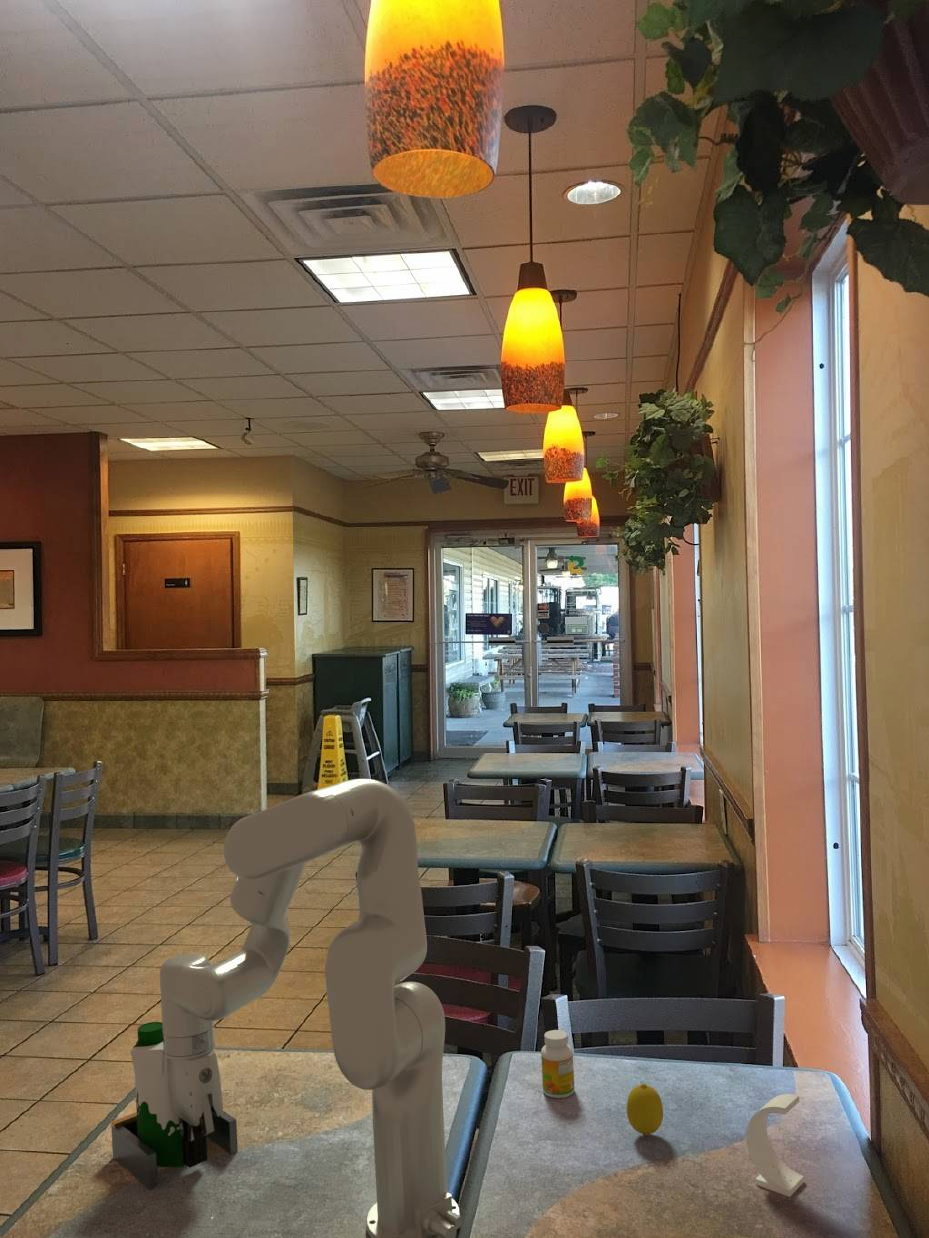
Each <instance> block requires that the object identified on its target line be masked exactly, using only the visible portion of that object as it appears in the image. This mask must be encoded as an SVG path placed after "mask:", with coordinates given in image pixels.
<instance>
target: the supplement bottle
mask: <svg viewBox="0 0 929 1238" xmlns="http://www.w3.org/2000/svg"><path fill="white" fill-rule="evenodd" d="M543 1036H544V1044H545V1045H543V1047H541V1052H540V1053H541V1054H540V1055H541V1056H540V1057H541V1077H542V1090H543V1094H544V1095H545V1096H548V1097H549V1098H552V1099H565V1098H568V1097H570V1096H571V1095H573V1094H574V1093H575V1074H574V1073H575V1072H574V1071H575V1069H574V1068H575V1067H574V1053H573V1049H572V1047H571V1046H570V1045H569V1044H568V1043H569V1035H568V1033H567V1032H566V1031H564V1030H560V1029H553V1030H548V1031H546V1032H545V1033H544V1035H543Z"/></svg>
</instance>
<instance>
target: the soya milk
mask: <svg viewBox="0 0 929 1238" xmlns="http://www.w3.org/2000/svg"><path fill="white" fill-rule="evenodd" d="M130 1056H131V1061H132V1066H133V1071H134V1083H135V1084H134V1086H135V1103H136V1104H135V1106H136V1107H135V1108H136V1112H137V1130H138V1139H140V1140H141V1141H142V1142H143V1143H145V1144H146V1145H147V1146H148V1147H150V1148H151V1149H152V1150H153V1151H155V1152H156V1164H157V1168H184V1167H185V1166H186V1165H185V1164H184V1163H183V1152H182V1138H183V1137H185V1136H183V1137H182V1136H181V1134H180V1127H179V1118H178V1116H177V1115H176V1114H175V1113H173V1112H172V1111H171V1105H170V1099H169V1089H168V1070H167V1058H166V1057H165V1056H164V1050H163V1028H162V1021H152V1022H146V1023H143V1024H142V1025H140V1026H138V1028H137V1041H136V1042H135V1045H133V1046H132V1048H131V1049H130Z"/></svg>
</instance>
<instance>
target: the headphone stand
mask: <svg viewBox="0 0 929 1238" xmlns="http://www.w3.org/2000/svg"><path fill="white" fill-rule="evenodd" d="M798 1103H800V1095H798V1094H793V1093H786V1094H779V1095H777V1096H774V1097H773V1098H771V1099H770V1100H769V1101H768V1102H766V1104H764V1105H763V1106H762V1107H761V1108H760V1109H759V1110H758V1111H757V1112H755V1113H754V1114H753V1115H752V1117H751V1118H750V1120H749V1122H748V1123H747V1124H748V1125H747V1128H746V1135H745V1136H746V1137H745V1138H746V1145H747V1146H746V1147H747V1151H748V1154H749V1157H750V1159H751V1161H752V1163H753V1165H754V1167H755V1169H756V1170H757V1172H758V1173H759V1175H758V1176H757V1177H756V1178H755V1185H756V1186H758V1187H761V1188H764V1189H766V1190H769V1191H772V1192H775V1193H778V1194H781V1195H783V1196H786V1197H789V1198H791V1197H792V1196H793V1194H794V1193H796V1191H797V1190H798V1189H799V1188H800V1187H801V1186H802V1185H803V1184H804V1183H805V1177H804V1175H801V1174H799V1173H798V1172H796V1171H795V1170H793V1169H791V1168H790V1167H788V1166H787V1165H786V1164H785V1163H784V1162H783V1161H782V1160H781V1158H780V1157H779V1156H778V1155H777V1153H776V1152H775V1150H774V1148H773V1146H772V1144H771V1141H770V1139H769V1134H768V1129H767V1123H768V1117H769V1114H781V1115H787V1113H789V1112H790V1111H791V1110H792V1109H793V1108H794V1107H795V1106H796V1105H797V1104H798Z"/></svg>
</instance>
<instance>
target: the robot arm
mask: <svg viewBox="0 0 929 1238" xmlns="http://www.w3.org/2000/svg"><path fill="white" fill-rule="evenodd" d="M414 821H415V820H414V818H413V814H412V812H411V810H410V807H409V806H408V804H407V802H406V801H405V799H404V798H403V797H402V796H401V795H400V793H399V792H398V791H396V790H395V789H394V788H392V787H391V786H390V785H388V784H386V783H384V782H383V781H380V780H376V779H373V778H372V779H370V778H353V779H349V780H345V781H341V782H338V783H335V784H331V785H329V786H326V787H322V788H318V789H316V790H311V791H308V792H305V793H302V794H299V795H298V796H295V797H292V798H290V799H288V800H285V801H283V802H279V803H277V804H276V805H273V806H271V807H268V808H266V809H263V810H260V811H258V812H255V813H253V814H250V815H247V816H244V817H242V818H240V819H238V820H237V821H236V822H235V823H234V824H233V825H232V826H231V827H230V829H229V830H228V831H227V835H226V836H225V840H224V844H223V856H224V861H225V864H226V865H227V868H228V869H229V870H230V872H231V873H232V874H233V875H235V876H236V878H237V879H236V880H235V883H234V886H233V888H232V891H231V893H230V898H229V900H230V902H229V903H230V906H231V908H232V909H233V911H234V912H235V913H236V914H237V916H239V917H240V918H242V919H243V920H245V921H246V922H248V923H250V924H251V925H250V928H249V930H248V932H247V935H246V938H245V940H244V942H243V945H242V946H241V949H240V950H239V951H237V952H236V953H233V954H231V955H229V956H228V957H225V958H223V959H222V960H220V961H218V962H214V963H212V964H211V961H210V959H209V958H208V957H207V956H206V955H204V954H199V953H186V954H184V953H183V954H180V955H179V954H178V955H176V956H173V957H170V958H168V959H166V960H165V961H164V962H163V963H162V964H161V966H160V969H159V985H160V986H159V988H160V1004H161V1023H162V1028H163V1050H164V1056H165V1057H166V1058H167V1070H168V1089H169V1099H170V1105H171V1111H172V1112H173V1113H175V1114H176V1115H177V1116H178V1118H179V1127H180V1134H181V1136H182V1137H183V1136H185V1137H183V1138H182V1152H183V1163H184V1164H185V1165H184V1166H186V1167H187V1168H189V1169H191V1168H193V1167H194V1166H197V1165H200V1164H202V1163H204V1162H206V1161H207V1160H208V1145H207V1143H208V1142H207V1137H206V1135H207V1134H208V1133H211V1132H213V1131H214V1126H213V1120H212V1114H213V1115H215V1116H217V1117H221V1116H222V1115H223V1111H224V1103H223V1100H224V1099H223V1091H222V1090H223V1089H222V1081H221V1075H220V1073H221V1072H220V1067H219V1062H218V1058H217V1054H216V1051H215V1047H216V1038H215V1022H217V1021H220V1020H222V1019H225V1018H226V1017H229V1016H230V1015H232V1014H234V1013H236V1012H238V1011H239V1010H240V1009H242V1008H243V1007H245V1006H247V1005H249V1004H251V1003H252V1002H254V1001H256V1000H258V999H260V998H262V997H263V996H264V995H265V994H266V993H268V992H269V990H270V989H271V988H272V987H273V985H274V983H275V982H276V980H277V979H278V976H279V974H280V972H281V970H282V967H283V965H284V962H285V959H286V957H287V954H288V952H289V947H290V943H291V932H290V931H291V930H290V929H291V928H290V921H289V918H288V915H287V913H288V911H289V908H290V905H291V903H292V900H293V898H294V895H295V894H296V890H297V889H298V885H299V883H300V880H301V878H302V875H303V873H304V870H305V868H306V865H307V864H308V862H311V861H313V860H317V859H318V858H322V857H325V856H327V855H329V854H331V853H334V852H337V851H339V850H341V849H344V848H346V847H349V846H351V845H353V844H356V843H358V844H360V846H361V849H360V851H361V852H360V856H359V860H358V861H359V862H358V864H357V871H356V886H357V894H358V895H357V896H358V905H359V906H358V909H359V910H358V911H359V913H358V914H359V915H358V918H357V921H354V922H353V923H351V924H349V925H348V926H345V928H343V929H342V930H341V931H339V932H338V934H336V936H335V937H334V938H333V939H332V941H331V943H330V945H329V948H328V951H327V954H326V958H325V967H324V969H325V970H324V975H325V988H326V997H327V1005H328V1006H327V1007H328V1016H329V1024H330V1025H329V1026H330V1035H331V1042H332V1049H333V1053H334V1054H333V1055H334V1057H335V1060H336V1064H337V1067H338V1068H339V1070H340V1072H341V1073H342V1075H343V1076H344V1078H345V1079H346V1080H347V1081H348V1082H349V1083H350V1084H351V1085H353V1086H354V1087H356V1088H359V1089H361V1090H364V1091H368V1090H369V1091H371V1106H372V1107H371V1108H372V1109H371V1110H372V1111H371V1112H372V1113H371V1114H372V1130H373V1132H372V1133H373V1134H372V1135H373V1147H374V1149H373V1150H374V1151H373V1152H374V1169H375V1170H374V1171H375V1187H376V1188H375V1189H376V1203H374V1205H373V1206H372V1207H370V1209H369V1211H368V1213H367V1215H366V1219H365V1220H366V1222H365V1223H366V1231H367V1234H368V1236H369V1237H370V1238H456V1237H457V1233H458V1232H457V1230H458V1229H460V1228H461V1227H462V1226H463V1224H464V1218H463V1216H461V1209H460V1207H459V1205H458V1203H457V1202H456V1200H455V1199H454V1198H452V1194H451V1193H449V1192H448V1178H447V1158H446V1142H445V1141H446V1139H445V1137H446V1136H445V1121H444V1119H445V1118H444V1096H443V1059H444V1058H443V1057H444V1051H445V1048H444V1047H445V1038H446V1035H445V1034H446V1018H445V1012H444V1008H443V1005H442V1003H441V1001H440V998H439V997H438V995H437V994H436V993H435V991H433V990H432V989H431V988H430V987H428V986H427V985H425V984H423V983H421V982H418V981H417V982H416V981H405V982H403V981H404V980H405V979H406V978H407V977H409V976H411V975H412V974H413V973H414V972H416V971H417V970H418V969H419V968H420V967H421V966H422V964H424V962H425V959H426V956H427V952H428V941H427V932H426V923H425V922H426V921H425V913H424V904H423V896H422V888H421V887H422V886H421V881H420V873H419V861H418V847H417V843H418V842H417V832H416V826H415V822H414ZM211 1113H212V1114H211ZM200 1123H201V1124H200Z"/></svg>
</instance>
